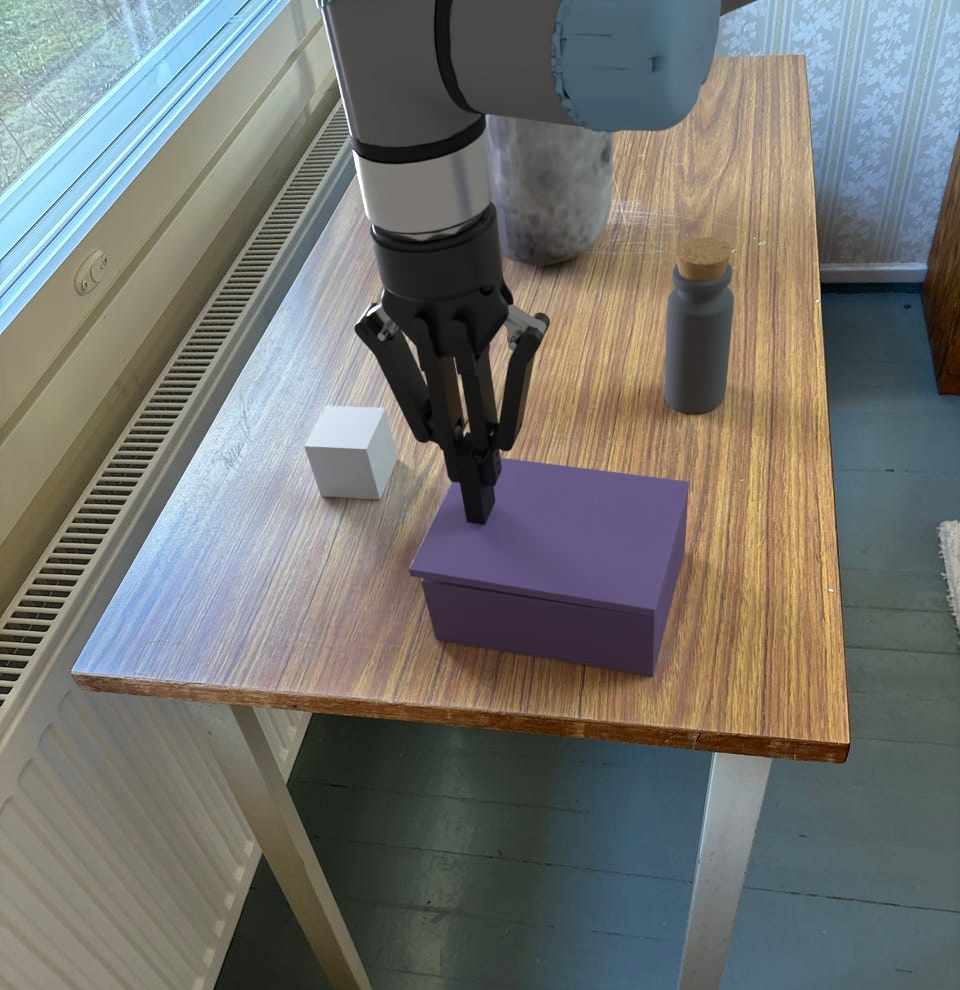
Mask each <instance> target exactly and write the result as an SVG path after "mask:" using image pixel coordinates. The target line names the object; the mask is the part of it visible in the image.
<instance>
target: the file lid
mask: <svg viewBox="0 0 960 990" xmlns="http://www.w3.org/2000/svg"><path fill="white" fill-rule="evenodd" d="M500 458H501V465H502V471H501V474H500V476H499V478H498V480H497V483H496V485H495V487H494V486H493V487H494V494H495V500H496V501H495V504H494V506H493V508H492V510H491V513H490V515H489V517H488V519H487V522H486V524H485V525H484V524H476V523H469V522H467V520H466V514H465V509H464V504H463V498H462V493H461V487H460V483H457V482H451V481H450V484H449V486H448V489H447V490H446V492H445V494H444V496H443V499H442V500H441V502H440V505H439V507H438V509H437V511H436V513H435V515H434V517H433V518H432V521H431V523H430V525H429V527H428V528H427V530H426V533H425V535H424V537H423V539H422V540H421V541H422V542H420V546H419V547H418V549H417V551H416V554H415V555H414V557H413V560H412V561H411V563H410V566H409V568H408V573H409V576H410V577H412V578H420V579H423V578H424V579H430V580H436V581H442V582H448V583H454V584H460V585H466V586H472V587H478V588H484V589H490V590H496V591H502V592H508V593H514V594H520V595H526V596H532V597H537V598H543V599H549V600H555V601H561V602H567V603H573V604H579V605H585V606H591V607H597V608H603V609H609V610H615V611H621V612H627V613H633V614H639V615H645V616H651V617H654V616H655V613H656V609H657V606H658V602H659V598H660V594H661V590H662V587H663V583H664V579H665V575H666V572H667V568H668V564H669V560H670V557H671V553H672V549H673V545H674V542H675V538H676V534H677V530H678V526H679V523H680V519H681V515H682V511H683V508H684V504H685V500H686V496H687V493H688V494H689V489H690V482H689V480H688V481H687V480H679V479H673V478H672V479H671V478H664V477H656V476H648V475H642V474H641V475H640V474H634V473H633V474H632V473H625V472H619V471H608V470H601V469H593V468H585V467H579V466H569V465H561V464H554V463H546V462H539V461H538V462H537V461H531V460H522V459H516V458H515V459H514V458H507V457H500Z"/></svg>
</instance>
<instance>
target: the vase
mask: <svg viewBox="0 0 960 990" xmlns="http://www.w3.org/2000/svg"><path fill="white" fill-rule="evenodd" d="M485 116H486V125H487V133H488V142H489V151H490V161H491V170H492V179H493V188H494V197H493V199H492V200H491V202H492V203H493V204H494V206H495V207H496V211H497V220H498V229H499V238H500V246H501V255H502V257H504V258H505V259H508V260H510V261H513V262H516V263H519V264H524V265H529V266H530V265H531V266H548V265H549V266H550V265H555V264H559V263H563V262H567V261H569V260H571V259H574V258H576V257H578V256H580V255H582V254H584V253H585V252H587V251H589V249H591V248H592V247H593V246H594V245H595V244H596V243H598V241H599V239H600V238H601V237H602V236H603V233H604V232H605V230H606V227H607V225H608V221H609V217H610V212H611V206H612V205H611V204H612V193H613V171H614V159H613V158H614V135H613V134H614V132H613V133H610V132H605V131H602V132H595V131H592V130H591V129H585V128H584V127H579V126H572V125H564V124H557V123H550V122H542V121H535V120H528V119H520V118H513V117H506V116H498V115H491V114H487V115H485Z"/></svg>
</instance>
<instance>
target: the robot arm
mask: <svg viewBox="0 0 960 990" xmlns="http://www.w3.org/2000/svg"><path fill="white" fill-rule="evenodd" d="M758 1H759V0H315V2H316V6H317V9H318V10H319V12H320V16H321V21H322V23H323V28H324V31H325V36H326V39H327V43H328V47H329V52H330V55H331V60H332V63H333V67H334V70H335V75H336V79H337V83H338V88H339V91H340V97H341V101H342V105H343V109H344V114H345V118H346V121H347V130H348V133H349V138H350V143H351V148H352V153H353V158H354V164H355V169H356V172H357V179H358V183H359V187H360V193H361V197H362V203H363V207H364V212H365V215H366V218H367V220H368V221H370V222H371V225H370V228H369V232H370V238H371V242H372V247H373V251H374V256H375V261H376V265H377V270H378V274H379V278H380V281H381V283H382V285H383V291H382V293H381V297H380V302H379V303H378V302H371V303H370V304H369V305H368V306H367V307H366V309H365V310H364V312H363V313H362V315H361V316H360V317H359V319H358V320H357V322H356V323H355V324H354V333H355V334H356V336H357V337H358V338H359V339H360V340H361V341H362V343H364V345H365V346H366V347H367V348H368V349H369V350H370V352H371V353H372V354H373V355H374V356H375V357H374V358H375V359H376V361H377V363H378V365H379V367H380V369H381V371H382V373H383V375H384V378H385V380H386V382H387V383H388V386H389V388H390V390H391V391H392V394H393V396H394V398H395V400H396V402H397V404H398V406H399V408H400V410H401V412H402V415H403V417H404V418H405V420H406V423H407V425H408V427H409V429H410V431H411V433H412V435H413V437H414V439H415V440H416V441H417V442H418V443H421V444H427V443H428V442H432V443H434V444H436V445H438V447H439V448H440V450H441V451H442V453H443V458H444V465H445V469H446V473H447V478H448V479H449V480H450V483H451V482H457V483H460V487H461V493H462V498H463V504H464V509H465V514H466V520H467V522H469V523H476V524H484V525H485V524H486V522H487V519H488V517H489V515H490V513H491V510H492V508H493V506H494V504H495V501H496V500H495V494H494V487H495V485H496V483H497V480H498V478H499V476H500V474H501V471H502V465H501V458H502V457H501V452H500V451H502V452H510V451H511V450H512V449H513V447H514V445H515V443H516V441H517V439H518V436H519V434H520V432H521V429H522V427H523V423H524V419H525V412H526V407H527V402H528V396H529V390H530V385H531V379H532V373H533V368H534V362H535V357H536V353H537V351H538V350H539V348H540V346H541V345H542V342H543V341H544V338H545V336H546V334H547V332H548V330H549V327H550V325H551V319H550V317H549V315H547V314H546V313H545V312H536V313H534V314H533V315H530V314H529V313H527V312H526V311H524V310H523V309H522V308H519V307H518V306H517V305H515V304H514V295H513V293H512V291H511V289H510V288H509V287H508V285H507V283H506V280H505V278H504V272H503V270H504V269H503V256H502V255H501V246H500V238H499V229H498V220H497V211H496V207H495V206H494V204H493V203H492V202H491V200H492V199H493V197H494V188H493V179H492V170H491V161H490V151H489V142H488V133H487V125H486V116H485V115H487V114H491V115H498V116H506V117H513V118H520V119H528V120H535V121H542V122H550V123H557V124H564V125H572V126H579V127H584V128H585V129H591V130H592V131H595V132H602V131H605V132H610V133H613V134H614V133H617V132H621V131H627V132H631V131H633V132H661V131H666V130H669V129H671V128H674V127H675V126H677V125H678V124H679V123H681V122H682V121H683V120H684V119H685V118H686V117H687V116H688V115H689V114H690V112H691V111H692V110H693V108H695V106H696V104H697V102H698V99H699V95H700V90H701V88H702V86H704V84H705V83H706V82H707V80H708V77H709V74H710V72H711V69H712V65H713V61H714V57H715V52H716V48H717V44H718V43H717V42H718V36H719V31H720V20H721V19H720V18H721V17H723V16H725V15H727V14H729V13H731V12H734V11H736V10H738V9H741V8H743V7H745V6H746V7H747V6H748V5H750V4H752V3H755V2H758ZM503 326H505V328H506V330H507V336H506V341H507V347H508V349H509V350H511V351H512V353H511V355H510V357H509V360H508V364H507V367H506V375H505V380H504V387H503V393H502V394H503V395H502V402H501V409H500V413H499V418H498V411H497V404H496V395H495V388H494V382H493V374H492V366H491V360H490V352H491V343H492V341H493V340H494V339H495V336H497V334H498V333H499V331H500V330H501V328H502V327H503ZM406 337H407V338H406ZM407 339H408V340H410V342H411V343H412V344H413V345H414V346H415V348H416V355H417V359H418V362H417V361H416V358H415V356H414V354H413V351H412V349H411V347H410V345H409V342H408V340H407ZM418 364H419V365H418ZM422 372H423V373H424V376H425V378H424V376H423V374H422ZM458 375H460V379H461V385H462V391H463V397H464V403H465V410H466V415H467V419H465V417H464V409H463V405H462V398H461V393H460V392H461V391H460V387H459V382H458V381H459V379H458ZM467 426H468V427H469V431H466V432H465V434H464V431H465V429H466V428H467ZM493 486H494V487H493Z"/></svg>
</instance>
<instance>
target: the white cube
mask: <svg viewBox="0 0 960 990" xmlns="http://www.w3.org/2000/svg"><path fill="white" fill-rule="evenodd" d="M303 447H304V450H305V453H306V455H307V459H308V461H309V465H310V468H311V471H312V474H313V476H314V479H315V482H316V486H317V488H318V491H319V494H320V497H325V498H326V497H328V498H344V499H345V498H346V499H360V500H378V501H380V500H381V499H382V497H383V494H384V492H385V489H386V487H387V485H388V482H389V481H390V479H391V475H392V473H393V471H394V468H395V466H396V464H397V462H398V459H399V458H398V454H397V450H396V445H395V441H394V437H393V433H392V429H391V424H390V421H389V416H388V412H387V409H386V407H375V406H373V407H372V406H345V405H325V406H324V408H323V410H322V411H321V414H320V415H319V417H318V419H317V421H316V423H315V424H314V426H313V428H312V430H311V433H310V434H309V436H308V438H307V440H306V441H305V444H304V446H303Z"/></svg>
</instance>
